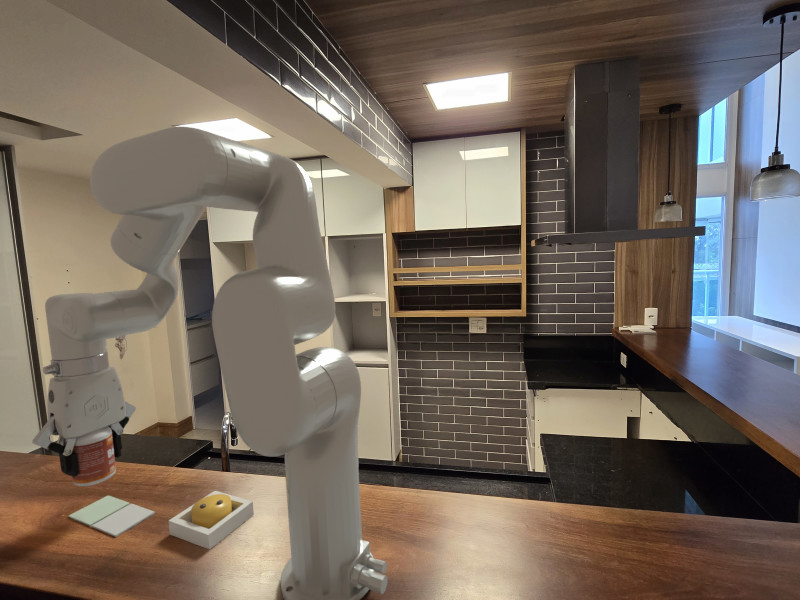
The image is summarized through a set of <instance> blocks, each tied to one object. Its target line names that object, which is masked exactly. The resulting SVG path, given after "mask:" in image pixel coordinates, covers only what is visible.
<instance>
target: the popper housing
mask: <svg viewBox="0 0 800 600" xmlns="http://www.w3.org/2000/svg"><path fill="white" fill-rule="evenodd" d="M216 494H224V495H228V496H229V497H230V498H231V506H232V513H230V514H229V515H228V516H226V517H225V518H224V519H222V520H221V521H220V522H218V523H217V524H215V525H214V526H213V527H211V528H210V529H207V528H205V527H202V526H199V525H196V524H193V523H192V514H191V509H192V507H193V505H194V504H195V503H193V504H192V505H190V506H188V508H186V509H184V510H183V511H181V512H180V513H178V514H176V515H175V516H174V517H172V518H170V519H168V527H169V535H171V536H173V537H176V538H179V539H181V540H183V541H186V542H189V543H191V544H193V545H197V546H198V547H202V548H205V549H207V550H211V549H213V548H214V547H215V546H217V544H219V543H220V542H221V541H222V540H224V539H225V538H226V537H228V536H229V535H230V534H231V533H232V532H234V531H235V530H236V529H238V528H239V527H240V526H241V525H242V524H244V523H246V521H248V520H249V519H250V518H252V517H253V516H254V513H255V512H254V501H253V500H248V499H245V498H242V497H239V496H235V495H232V494H228V493H225V492H221V491H218V490H214V491H212V492H210V493H209V494H207V495H206V496H203V498H205V497H208V496H211V495H216Z"/></svg>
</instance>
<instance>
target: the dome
mask: <svg viewBox="0 0 800 600" xmlns="http://www.w3.org/2000/svg"><path fill="white" fill-rule="evenodd" d="M204 497H205V498H204ZM204 497H203V498H201V499H199V500H198V501H196V502H195V503H193V504H194V505H193V504H192V505H193V507H192V509H191V514H192V523H193V524H196V525H199V526H202V527H205V528H207V529H210V528H211V527H213V526H214V525H215V524H217V523H218V522H220V521H221V520H222V519H224V518H225V517H226V516H228V515H229V514H230V513H232V506H231V498H230V497H229V496H228V495H224V494H216V495H211V496H208V497H206V496H204Z"/></svg>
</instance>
